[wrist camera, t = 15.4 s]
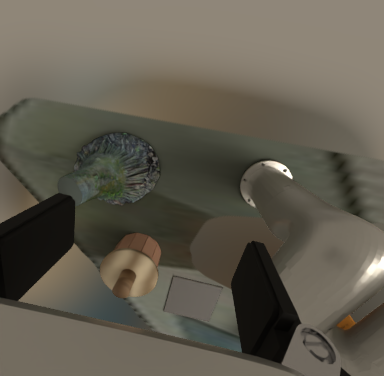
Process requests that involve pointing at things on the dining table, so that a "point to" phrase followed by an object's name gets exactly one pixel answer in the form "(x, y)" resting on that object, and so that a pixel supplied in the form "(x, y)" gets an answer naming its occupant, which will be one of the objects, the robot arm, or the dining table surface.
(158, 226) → the dining table surface
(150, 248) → the bowl
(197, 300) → the mat
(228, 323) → the dining table surface
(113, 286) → the lid
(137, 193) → the tree stump
